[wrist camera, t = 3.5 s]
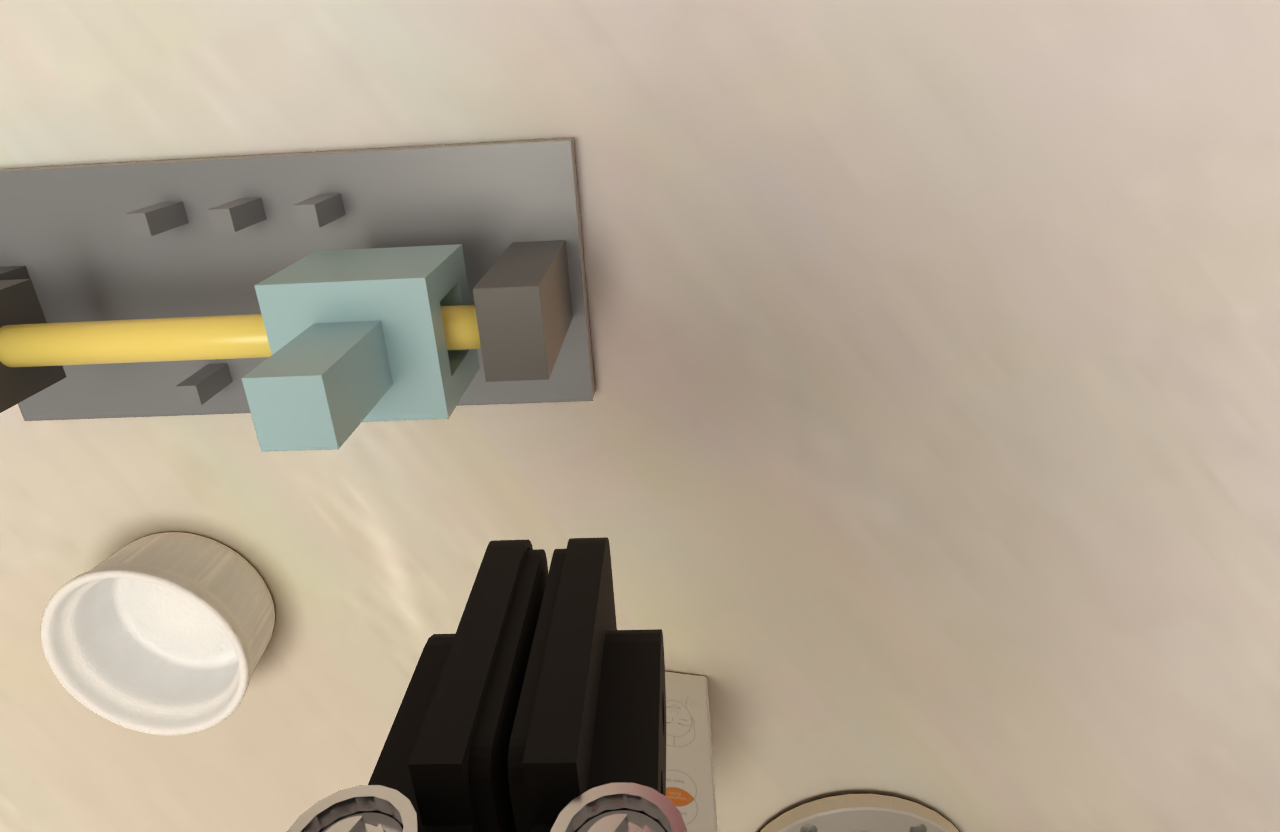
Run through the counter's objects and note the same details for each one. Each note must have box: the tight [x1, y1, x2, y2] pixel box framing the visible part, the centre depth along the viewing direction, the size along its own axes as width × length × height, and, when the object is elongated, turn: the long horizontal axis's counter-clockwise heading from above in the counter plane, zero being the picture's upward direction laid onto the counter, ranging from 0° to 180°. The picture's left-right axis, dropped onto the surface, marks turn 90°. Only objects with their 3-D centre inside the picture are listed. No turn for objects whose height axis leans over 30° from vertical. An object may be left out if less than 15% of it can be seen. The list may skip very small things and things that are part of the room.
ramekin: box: [41, 532, 275, 735], centre depth 37 cm, size 9×9×4 cm
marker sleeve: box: [241, 244, 480, 452], centre depth 24 cm, size 5×4×9 cm
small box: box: [665, 671, 718, 832], centre depth 36 cm, size 8×6×10 cm
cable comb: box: [0, 137, 595, 421], centre depth 29 cm, size 24×10×8 cm, turn 93°
